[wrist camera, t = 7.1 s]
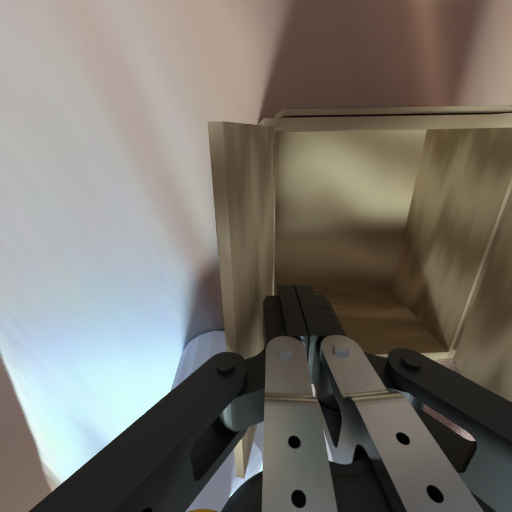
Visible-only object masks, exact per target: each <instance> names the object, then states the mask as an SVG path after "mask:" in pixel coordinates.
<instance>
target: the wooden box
mask: <svg viewBox="0 0 512 512" xmlns="http://www.w3.org/2000/svg"><path fill="white" fill-rule="evenodd" d="M502 113H512V105H491V106H428V107H365V108H302V109H283V110H282V111H280V112H279V113H277V114H276V115H275V118H264V119H263V120H261V121H260V122H259V123H258V125H262V126H271V127H274V174H273V273H272V296H273V295H277V285H289V284H293V285H294V284H310V285H311V288H312V290H313V293H314V295H319V294H322V295H323V296H324V297H325V298H327V299H328V300H329V301H330V303H331V305H332V307H333V310H334V311H335V313H336V316H337V317H338V320H339V322H340V324H341V326H342V328H343V330H344V332H345V334H346V336H347V337H348V338H350V339H352V340H354V341H355V342H356V343H357V344H358V345H359V346H360V348H361V349H362V351H363V352H366V353H369V354H373V355H377V356H382V357H388V354H389V352H390V351H391V350H393V349H397V348H406V349H410V350H413V351H416V352H418V353H420V354H422V355H424V356H426V357H428V358H430V359H432V360H433V361H438V359H446V358H453V357H454V355H455V352H456V349H457V347H458V344H459V341H460V339H461V336H462V333H463V331H464V328H465V325H466V323H467V320H468V317H469V315H470V312H471V309H472V307H473V304H474V301H475V299H476V296H477V293H478V290H479V288H480V285H481V282H482V280H483V277H484V274H485V272H486V269H487V266H488V264H489V261H490V258H491V256H492V253H493V250H494V248H495V245H496V242H497V240H498V237H499V234H500V232H501V229H502V226H503V224H504V221H505V218H506V215H507V213H508V210H509V207H510V205H511V202H512V114H502Z"/></svg>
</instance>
